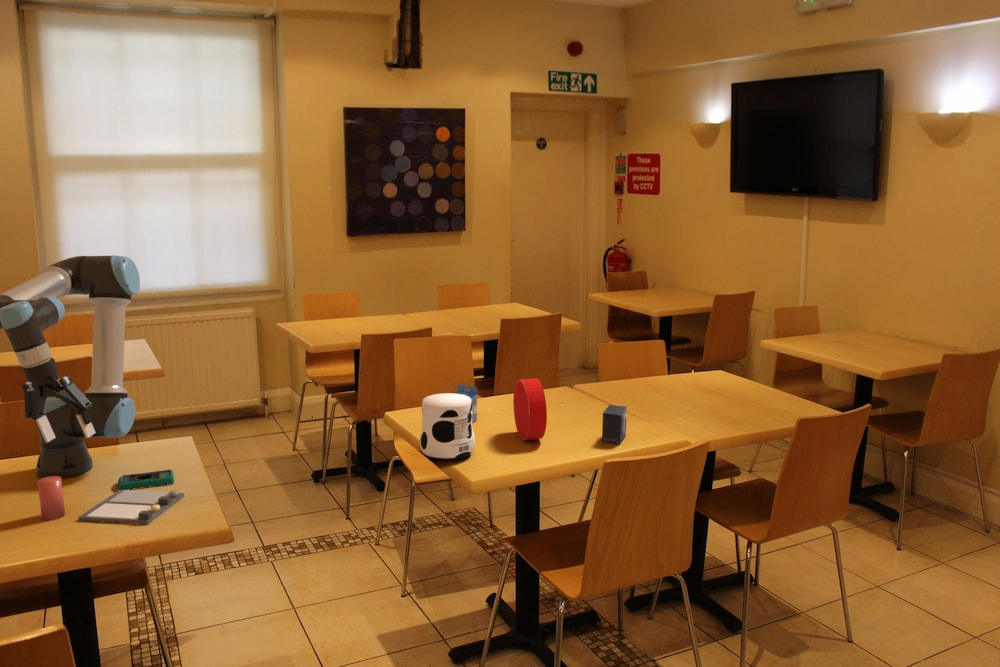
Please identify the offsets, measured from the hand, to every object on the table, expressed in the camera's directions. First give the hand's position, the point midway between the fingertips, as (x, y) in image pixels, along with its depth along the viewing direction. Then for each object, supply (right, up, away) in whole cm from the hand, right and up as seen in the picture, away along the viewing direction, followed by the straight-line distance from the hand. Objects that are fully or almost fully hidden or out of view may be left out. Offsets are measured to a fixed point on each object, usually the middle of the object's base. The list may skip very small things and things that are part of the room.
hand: (70, 437), depth 224 cm
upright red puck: (+120, -8, +66) cm, 137 cm away
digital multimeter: (+9, -17, +27) cm, 33 cm away
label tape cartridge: (+98, -4, +86) cm, 130 cm away
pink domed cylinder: (-6, -21, +4) cm, 22 cm away
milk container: (+94, -12, +50) cm, 107 cm away
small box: (+148, -9, +65) cm, 162 cm away
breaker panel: (+12, -20, +9) cm, 25 cm away
